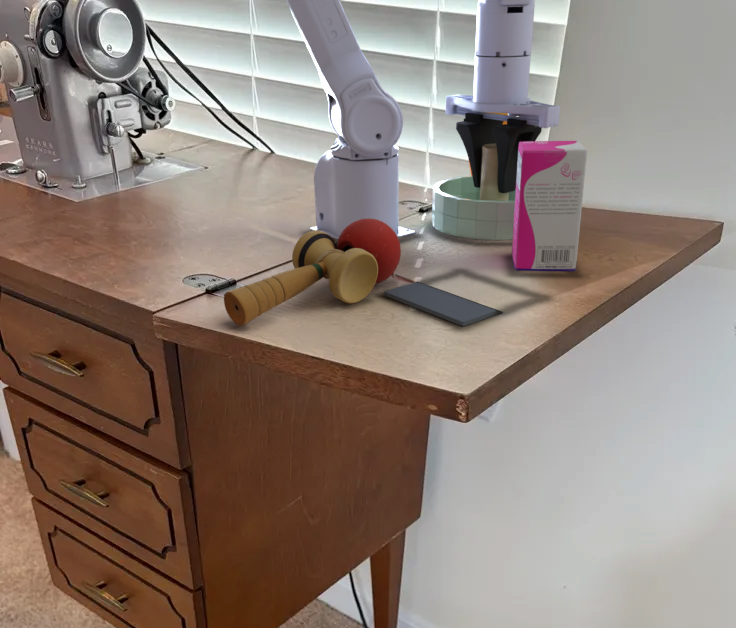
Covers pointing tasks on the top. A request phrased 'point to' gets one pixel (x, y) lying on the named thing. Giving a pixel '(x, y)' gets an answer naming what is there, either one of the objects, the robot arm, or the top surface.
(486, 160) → the birch peg
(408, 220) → the top surface
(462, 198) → the bowl
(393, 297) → the felt mat
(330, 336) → the top surface
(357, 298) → the kendama
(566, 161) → the supplement box
